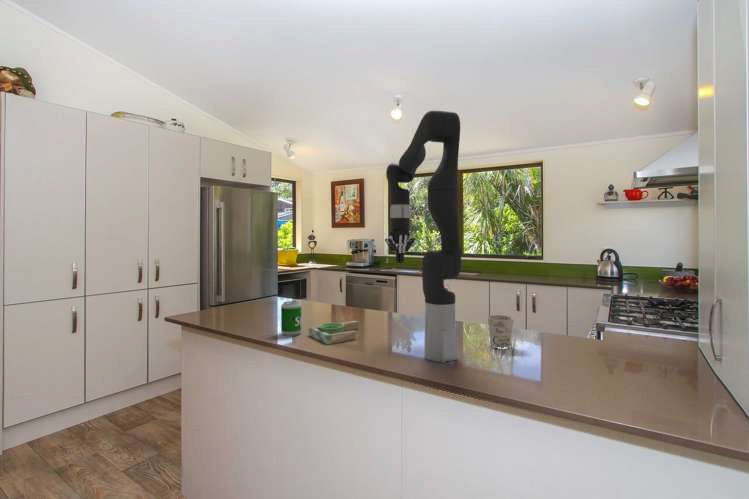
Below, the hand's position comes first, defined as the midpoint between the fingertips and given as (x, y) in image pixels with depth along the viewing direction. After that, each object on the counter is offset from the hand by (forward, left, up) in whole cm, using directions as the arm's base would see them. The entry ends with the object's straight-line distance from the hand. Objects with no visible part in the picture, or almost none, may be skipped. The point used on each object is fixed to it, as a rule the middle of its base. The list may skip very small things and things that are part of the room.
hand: (399, 263), depth 152 cm
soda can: (+23, +34, -27) cm, 49 cm away
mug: (-32, -19, -27) cm, 46 cm away
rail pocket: (+10, +19, -27) cm, 34 cm away
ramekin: (+10, +24, -27) cm, 37 cm away
